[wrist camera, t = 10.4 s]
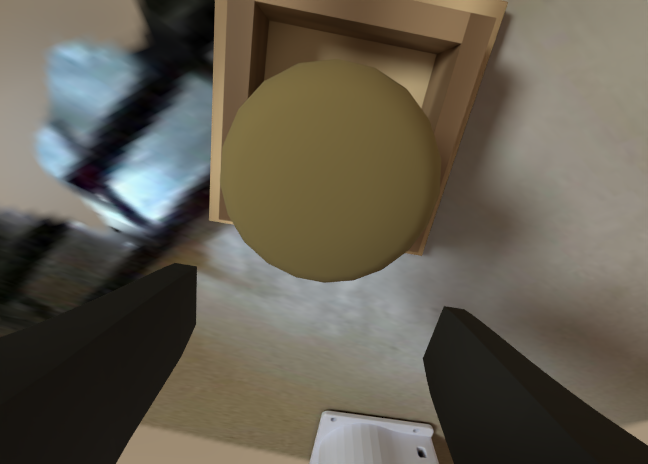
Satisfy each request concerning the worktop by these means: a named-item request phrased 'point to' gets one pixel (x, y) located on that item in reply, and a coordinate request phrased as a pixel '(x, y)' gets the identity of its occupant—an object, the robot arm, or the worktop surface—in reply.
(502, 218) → the worktop surface
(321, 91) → the cork
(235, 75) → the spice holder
